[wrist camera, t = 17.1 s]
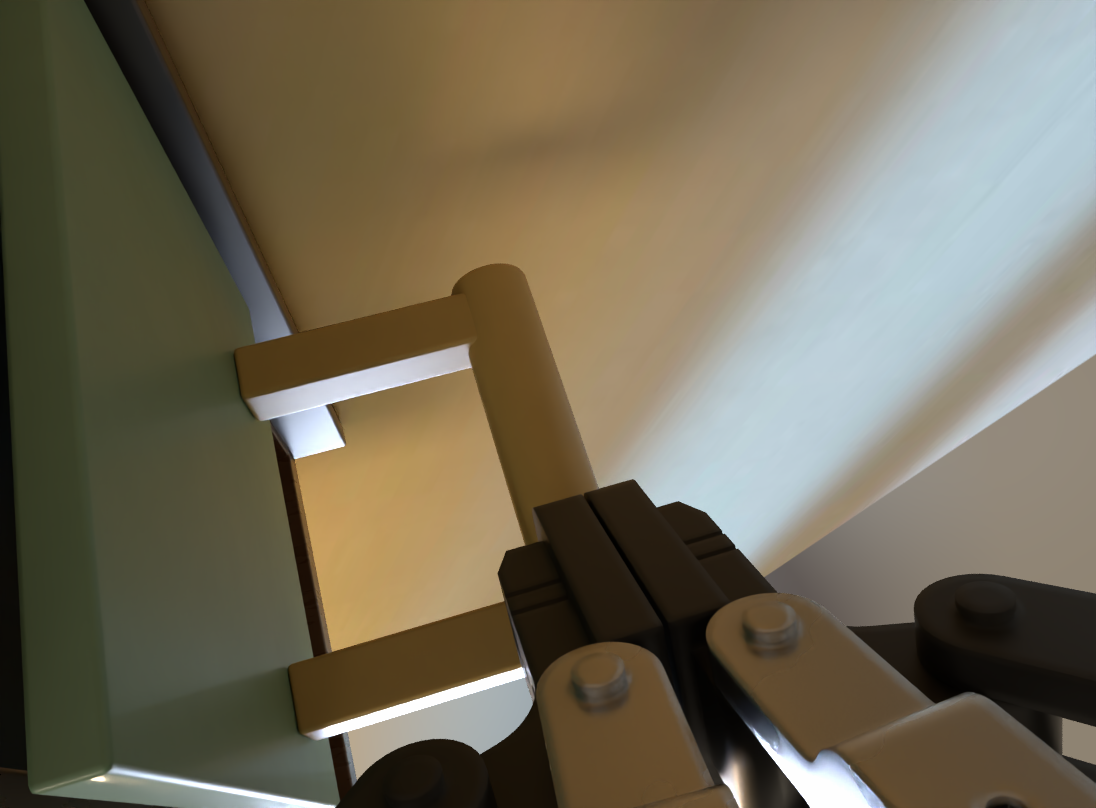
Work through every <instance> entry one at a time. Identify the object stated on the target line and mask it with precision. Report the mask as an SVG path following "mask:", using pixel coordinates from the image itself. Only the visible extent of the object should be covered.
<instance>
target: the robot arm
mask: <svg viewBox="0 0 1096 808" xmlns="http://www.w3.org/2000/svg"><path fill="white" fill-rule="evenodd" d="M532 514H533V520H534V525H535V529H536V534H537V538H538V542H536V543H532V544H529V545H525V546H522V547H518V548H515V549H511V550H508V551H506V553H505V556H504V558H503V561H502V563H501V566H500V569H499V571H498V577H499V581H500V585H501V589H502V593H503V596H504V600H505V604H506V608H507V612H508V616H509V620H510V624H511V628H512V632H513V636H514V640H515V644H516V648H517V652H518V656H519V660H520V664H521V667H522V670H523V673H524V676H525V679H526V682H527V686H528V688H529V692H530V695H531V698H532V701H533V705H532V708H531V710H530V712H529V714H528V715H527V717H526V718H525V720H524V721H523V722H522V723H521V725H520V726H519V727H518V728H517V729H516V730H515V731H514V732H513V733H511V734H510V735H509V736H508V737H507V738H505V739H504V740H502V741H501V742H500V743H498V744H497V745H495V746H493V747H492V748H490V749H489V750H487V751H485V752H483V753H482V754H479V753H478V752H477V751H476V750H474V749H473V748H472V747H470V746H468V745H466V744H464V743H462V742H458V741H454V740H448V739H430V740H424V741H419V742H415V743H412V744H408V745H406V746H403V747H401V748H398V749H396V750H394V751H392V752H390V753H389V754H387V755H385V756H384V757H382V758H381V759H379V760H378V761H376V762H375V763H374V764H373V765H372V766H370V767H369V768H368V769H367V770H366V771H365V772H364V773H363V775H362V776H361V777H360V778H359V779H358V780H357V781H356V783H355V784H354V785H353V786H352V787H351V789H350V790H349V791H348V792H347V794H346V795H345V796H344V797H343V799H342V800H341V801H340V802H339V804H338V805H337V806H336V807H335V808H1096V765H1094V764H1091V763H1087V762H1084V761H1081V760H1077V759H1073V758H1071V757H1067V756H1064V755H1062V718H1066V719H1069V720H1073V721H1077V722H1080V723H1084V724H1088V725H1091V726H1095V727H1096V594H1095V593H1090V592H1084V591H1079V590H1074V589H1069V588H1063V587H1058V586H1053V585H1048V584H1042V583H1037V582H1032V581H1026V580H1021V579H1016V578H1011V577H1005V576H999V575H992V574H966V575H957V576H953V577H948V578H945V579H942V580H939V581H937V582H935V583H933V584H931V585H929V586H928V587H927V588H925V589H924V590H922V591H921V593H920V594H919V595H918V596H917V598H916V601H915V604H914V617H915V618H914V619H915V622H914V623H901V624H889V625H878V626H862V627H852V626H845V625H844V624H843V623H841V622H840V621H839V620H838V619H837V618H836V617H834V616H833V615H832V614H831V613H830V612H829V611H828V610H827V609H825V608H824V607H823V606H821V605H820V604H818V603H816V602H814V601H812V600H810V599H807V598H805V597H801V596H797V595H793V594H785V593H777V591H776V590H775V589H774V588H773V587H772V586H771V585H770V584H769V583H768V582H767V580H766V579H765V578H764V577H763V576H762V575H761V574H760V572H759V571H758V570H757V569H756V568H755V567H754V566H753V565H752V564H751V562H750V561H749V560H748V559H747V558H746V557H745V556H744V555H743V554H742V552H741V551H740V550H739V549H736V548H735V545H734V544H733V542H732V541H731V540H730V539H729V538H728V537H727V536H726V535H725V534H723V533H722V530H721V529H720V528H719V527H718V526H717V525H716V523H715V522H714V521H713V520H712V519H711V518H710V517H709V516H708V515H707V513H705V512H703V511H701V510H698V509H696V508H693V507H691V506H688V505H686V504H684V503H681V502H679V501H678V502H674V503H671V504H667V505H664V506H660V507H657V508H656V506H655V505H654V504H653V503H652V501H651V500H650V499H649V497H648V496H647V495H646V494H645V492H644V491H643V490H642V489H641V487H640V486H639V485H638V483H637V482H636V481H635V480H633V479H632V480H628V481H625V482H621V483H617V484H614V485H610V486H607V487H603V488H600V489H596V490H593V491H589V492H586V493H584V497H583V495H582V494H579V495H576V496H572V497H568V498H565V499H561V500H558V501H554V502H551V503H547V504H544V505H540V506H537V507H533V508H532Z"/></svg>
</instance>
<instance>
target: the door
mask: <svg viewBox="0 0 1096 808" xmlns="http://www.w3.org/2000/svg"><path fill="white" fill-rule="evenodd" d="M0 216H1V236H2V257H3V277H4V298H5V318H6V339H7V360H8V380H9V401H10V421H11V442H12V462H13V483H14V504H15V524H16V545H17V565H18V586H19V607H20V627H21V648H22V668H23V689H24V709H25V730H26V751H27V771H28V786H29V789H30V791H31V793H32V794H39V795H50V796H61V797H71V798H82V799H93V800H103V801H114V802H125V803H135V804H146V805H157V806H167V807H178V808H335V807H336V806H337V805H338V804H339V802H340V798H339V793H338V787H337V782H336V777H335V771H334V766H333V760H332V755H331V750H330V744H329V739H328V737H331V736H334V735H337V734H341V733H344V732H347V731H350V730H354V729H357V728H360V727H363V726H367V725H369V724H373V723H376V722H380V721H383V720H386V719H389V718H392V717H396V716H399V715H402V714H406V713H409V712H412V711H415V710H419V709H422V708H425V707H428V706H432V705H435V704H438V703H441V702H445V701H448V700H451V699H454V698H457V697H461V696H464V695H467V694H470V693H474V692H477V691H480V690H484V689H487V688H490V687H493V686H496V685H500V684H503V683H506V682H510V681H513V680H516V679H519V678H522V677H525V676H524V673H523V670H522V667H521V664H520V660H519V656H518V652H517V648H516V644H515V640H514V636H513V632H512V628H511V624H510V620H509V616H508V612H507V608H506V604H505V601H503V602H500V603H496V604H493V605H490V606H486V607H483V608H479V609H476V610H473V611H469V612H466V613H463V614H459V615H456V616H452V617H449V618H446V619H442V620H439V621H435V622H432V623H429V624H425V625H422V626H418V627H415V628H412V629H408V630H405V631H401V632H398V633H395V634H391V635H388V636H384V637H381V638H378V639H374V640H371V641H368V642H364V643H361V644H357V645H354V646H351V647H347V648H344V649H340V650H337V651H334V652H330V653H327V654H323V655H320V656H317V657H313V652H312V647H311V641H310V636H309V631H308V625H307V620H306V614H305V609H304V604H303V598H302V593H301V587H300V582H299V576H298V571H297V566H296V560H295V555H294V549H293V544H292V539H291V533H290V528H289V522H288V517H287V512H286V506H285V501H284V495H283V490H282V485H281V479H280V474H279V468H278V463H277V458H276V452H275V447H274V441H273V436H272V431H271V425H270V420H269V419H271V418H275V417H279V416H283V415H287V414H291V413H295V412H299V411H303V410H306V409H310V408H314V407H318V406H322V405H326V404H330V403H334V402H338V401H342V400H345V399H349V398H353V397H357V396H361V395H365V394H369V393H373V392H377V391H381V390H384V389H388V388H392V387H396V386H400V385H404V384H408V383H412V382H416V381H420V380H424V379H427V378H431V377H435V376H439V375H443V374H447V373H451V372H455V371H459V370H463V369H466V368H470V367H472V370H473V373H474V376H475V380H476V383H477V386H478V390H479V393H480V396H481V400H482V403H483V406H484V410H485V413H486V416H487V420H488V423H489V426H490V430H491V433H492V436H493V440H494V443H495V446H496V450H497V453H498V456H499V460H500V463H501V466H502V470H503V473H504V476H505V480H506V483H507V486H508V490H509V493H510V497H511V500H512V503H513V507H514V510H515V513H516V517H517V520H518V523H519V527H520V530H521V533H522V537H523V540H524V543H525V545H529V544H532V543H536V542H538V538H537V534H536V529H535V525H534V520H533V514H532V508H533V507H537V506H540V505H544V504H547V503H551V502H554V501H558V500H561V499H565V498H568V497H572V496H576V495H579V494H582V495H583V497H584V493H586V492H589V491H593V490H596V489H599V487H598V484H597V482H596V479H595V476H594V473H593V470H592V467H591V464H590V461H589V458H588V456H587V453H586V450H585V447H584V444H583V441H582V438H581V435H580V432H579V429H578V427H577V424H576V421H575V418H574V415H573V412H572V409H571V406H570V403H569V401H568V398H567V395H566V392H565V389H564V386H563V383H562V380H561V377H560V375H559V372H558V369H557V366H556V363H555V360H554V357H553V354H552V351H551V349H550V346H549V343H548V340H547V337H546V334H545V331H544V328H543V325H542V322H541V320H540V317H539V314H538V311H537V308H536V305H535V302H534V299H533V296H532V294H531V291H530V288H529V285H528V282H527V279H526V276H525V274H524V273H523V272H522V271H521V270H520V269H519V268H517V267H515V266H513V265H509V264H491V265H486V266H482V267H480V268H477V269H475V270H472V271H470V272H469V273H467V274H465V275H464V276H463V277H461V278H460V279H459V280H458V281H457V283H456V284H455V285H454V287H453V289H452V294H451V296H448V297H444V298H440V299H436V300H432V301H428V302H424V303H420V304H416V305H412V306H408V307H403V308H399V309H395V310H391V311H387V312H383V313H379V314H375V315H371V316H367V317H363V318H358V319H354V320H350V321H346V322H342V323H338V324H334V325H330V326H326V327H322V328H317V329H313V330H309V331H305V332H301V333H297V334H293V335H289V336H285V337H281V338H277V339H272V340H268V341H264V342H260V343H256V344H255V339H254V333H253V328H252V322H251V317H250V312H249V308H248V306H247V304H246V302H245V300H244V299H243V297H242V295H241V293H240V291H239V289H238V287H237V286H236V284H235V282H234V280H233V278H232V276H231V274H230V272H229V271H228V269H227V267H226V265H225V263H224V261H223V259H222V258H221V256H220V254H219V252H218V250H217V248H216V246H215V244H214V243H213V241H212V239H211V237H210V235H209V233H208V231H207V230H206V228H205V226H204V224H203V222H202V220H201V218H200V216H199V215H198V213H197V211H196V209H195V207H194V205H193V203H192V201H191V200H190V198H189V196H188V194H187V192H186V190H185V188H184V187H183V185H182V183H181V181H180V179H179V177H178V175H177V173H176V172H175V170H174V168H173V166H172V164H171V162H170V160H169V159H168V157H167V155H166V153H165V151H164V149H163V147H162V145H161V144H160V142H159V140H158V138H157V136H156V134H155V132H154V131H153V129H152V127H151V125H150V123H149V121H148V119H147V117H146V116H145V114H144V112H143V110H142V108H141V106H140V104H139V103H138V101H137V99H136V97H135V95H134V93H133V91H132V89H131V88H130V86H129V84H128V82H127V80H126V78H125V76H124V75H123V73H122V71H121V69H120V67H119V65H118V63H117V61H116V60H115V58H114V56H113V54H112V52H111V50H110V48H109V47H108V45H107V43H106V41H105V39H104V37H103V35H102V33H101V32H100V30H99V28H98V26H97V24H96V22H95V20H94V19H93V17H92V15H91V13H90V11H89V9H88V7H87V5H86V4H85V2H84V0H0Z"/></svg>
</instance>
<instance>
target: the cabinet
mask: <svg viewBox="0 0 1096 808" xmlns="http://www.w3.org/2000/svg"><path fill="white" fill-rule="evenodd" d="M84 2H85V4H86V5H87V7H88V9H89V11H90V13H91V15H92V17H93V19H94V20H95V22H96V24H97V26H98V28H99V30H100V32H101V33H102V35H103V37H104V39H105V41H106V43H107V45H108V47H109V48H110V50H111V52H112V54H113V56H114V58H115V60H116V61H117V63H118V65H119V67H120V69H121V71H122V73H123V75H124V76H125V78H126V80H127V82H128V84H129V86H130V88H131V89H132V91H133V93H134V95H135V97H136V99H137V101H138V103H139V104H140V106H141V108H142V110H143V112H144V114H145V116H146V117H147V119H148V121H149V123H150V125H151V127H152V129H153V131H154V132H155V134H156V136H157V138H158V140H159V142H160V144H161V145H162V147H163V149H164V151H165V153H166V155H167V157H168V159H169V160H170V162H171V164H172V166H173V168H174V170H175V172H176V173H177V175H178V177H179V179H180V181H181V183H182V185H183V187H184V188H185V190H186V192H187V194H188V196H189V198H190V200H191V201H192V203H193V205H194V207H195V209H196V211H197V213H198V215H199V216H200V218H201V220H202V222H203V224H204V226H205V228H206V230H207V231H208V233H209V235H210V237H211V239H212V241H213V243H214V244H215V246H216V248H217V250H218V252H219V254H220V256H221V258H222V259H223V261H224V263H225V265H226V267H227V269H228V271H229V272H230V274H231V276H232V278H233V280H234V282H235V284H236V286H237V287H238V289H239V291H240V293H241V295H242V297H243V299H244V300H245V302H246V304H247V306H248V308H249V312H250V317H251V322H252V328H253V333H254V339H255V344H256V343H260V342H264V341H268V340H272V339H277V338H281V337H285V336H289V335H293V334H297V333H298V331H297V329H296V327H295V324H294V322H293V320H292V318H291V316H290V314H289V311H288V309H287V307H286V305H285V303H284V301H283V299H282V296H281V294H280V292H279V290H278V288H277V286H276V283H275V281H274V279H273V277H272V275H271V273H270V270H269V268H268V266H267V264H266V262H265V260H264V258H263V255H262V253H261V251H260V249H259V247H258V245H257V242H256V240H255V238H254V236H253V234H252V232H251V229H250V227H249V225H248V223H247V221H246V219H245V217H244V214H243V212H242V210H241V208H240V206H239V204H238V201H237V199H236V197H235V195H234V193H233V191H232V189H231V186H230V184H229V182H228V180H227V178H226V176H225V173H224V171H223V169H222V167H221V165H220V163H219V160H218V158H217V156H216V154H215V152H214V150H213V148H212V145H211V143H210V141H209V139H208V137H207V135H206V132H205V130H204V128H203V126H202V124H201V122H200V119H199V117H198V115H197V113H196V111H195V109H194V107H193V104H192V102H191V100H190V98H189V96H188V94H187V91H186V89H185V87H184V85H183V83H182V81H181V79H180V76H179V74H178V72H177V70H176V68H175V66H174V63H173V61H172V59H171V57H170V55H169V53H168V50H167V48H166V46H165V44H164V42H163V40H162V38H161V35H160V33H159V31H158V29H157V27H156V25H155V22H154V20H153V18H152V16H151V14H150V12H149V10H148V7H147V5H146V3H145V1H144V0H84ZM269 420H270V425H271V431H272V436H273V441H274V447H275V452H276V458H277V463H278V468H279V474H280V479H281V485H282V490H283V495H284V501H285V506H286V512H287V517H288V522H289V528H290V533H291V539H292V544H293V549H294V555H295V560H296V566H297V571H298V576H299V582H300V587H301V593H302V598H303V604H304V609H305V614H306V620H307V625H308V631H309V636H310V641H311V647H312V652H313V657H317V656H320V655H323V654H327V653H330V652H332V650H331V645H330V640H329V634H328V629H327V624H326V619H325V614H324V609H323V603H322V598H321V593H320V588H319V583H318V578H317V573H316V567H315V562H314V557H313V552H312V547H311V542H310V537H309V531H308V526H307V521H306V516H305V511H304V506H303V500H302V495H301V490H300V485H299V480H298V475H297V470H296V464H295V459H297V458H301V457H305V456H308V455H312V454H316V453H320V452H323V451H327V450H331V449H335V448H339V447H342V446H345V445H346V440H345V436H344V431H343V428H342V426H341V424H340V421H339V419H338V417H337V415H336V413H335V411H334V409H333V406H332V404H331V403H330V404H326V405H322V406H318V407H314V408H310V409H306V410H303V411H299V412H295V413H291V414H287V415H283V416H279V417H275V418H271V419H269ZM328 739H329V744H330V750H331V755H332V760H333V766H334V771H335V777H336V782H337V787H338V793H339V798H340V801H341V800H342V799H343V797H344V796H345V795H346V794H347V792H348V791H349V790H350V789H351V787H352V786H353V785H354V784H355V783H356V781H357V779H356V774H355V769H354V763H353V758H352V753H351V748H350V743H349V737H348V732H344V733H341V734H337V735H334V736H331V737H328ZM0 808H178V807H167V806H157V805H146V804H135V803H125V802H114V801H103V800H93V799H82V798H71V797H61V796H50V795H39V794H32V793H31V791H30V789H29V786H28V771H27V751H26V730H25V709H24V689H23V668H22V648H21V627H20V607H19V586H18V565H17V545H16V524H15V504H14V483H13V462H12V442H11V421H10V401H9V380H8V360H7V339H6V318H5V298H4V277H3V257H2V236H1V216H0Z"/></svg>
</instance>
